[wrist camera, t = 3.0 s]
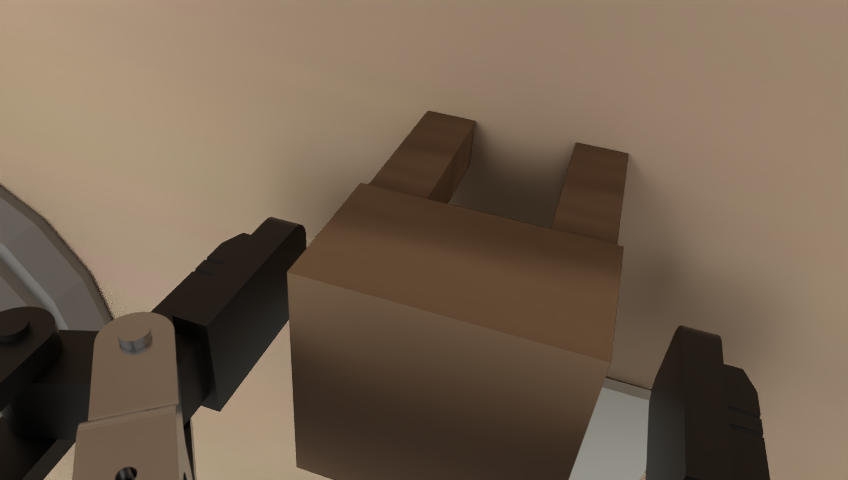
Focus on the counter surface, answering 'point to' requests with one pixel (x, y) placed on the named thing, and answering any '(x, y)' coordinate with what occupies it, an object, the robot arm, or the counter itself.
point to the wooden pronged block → (454, 322)
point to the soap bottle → (44, 271)
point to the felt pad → (615, 435)
